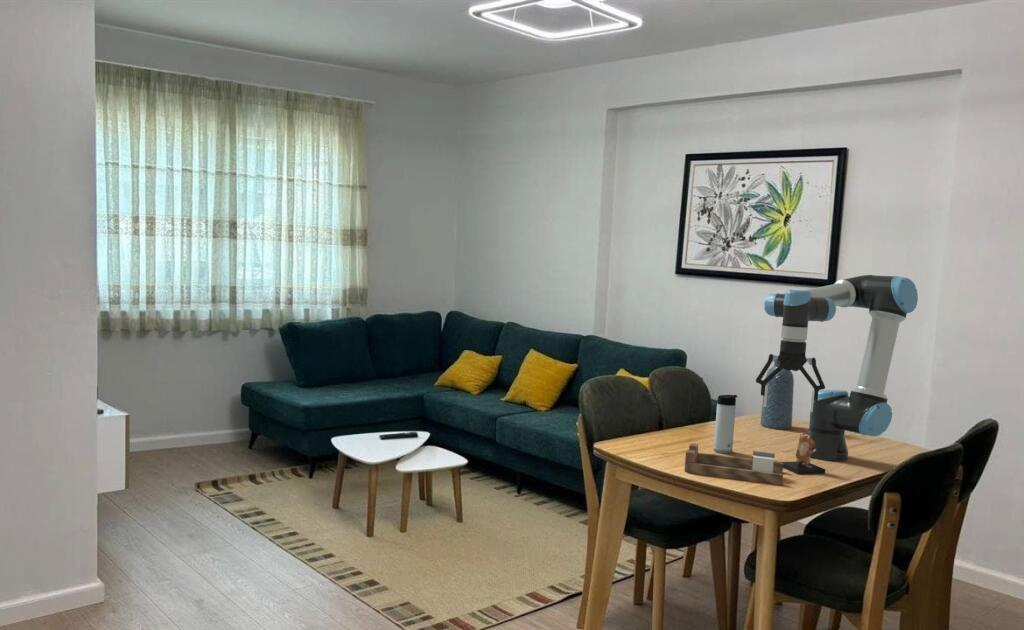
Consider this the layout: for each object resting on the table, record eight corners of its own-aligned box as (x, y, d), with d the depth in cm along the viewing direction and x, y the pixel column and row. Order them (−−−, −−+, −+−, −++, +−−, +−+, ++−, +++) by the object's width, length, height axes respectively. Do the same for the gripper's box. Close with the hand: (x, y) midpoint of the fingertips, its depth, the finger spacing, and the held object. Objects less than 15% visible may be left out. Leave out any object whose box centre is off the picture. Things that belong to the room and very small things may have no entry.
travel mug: (733, 454, 289) (738, 396, 287) (713, 452, 290) (718, 395, 288) (732, 450, 295) (736, 394, 293) (713, 448, 296) (717, 392, 294)
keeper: (773, 474, 264) (774, 451, 263) (772, 478, 258) (774, 455, 257) (751, 471, 266) (753, 449, 265) (751, 476, 260) (752, 453, 259)
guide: (782, 471, 268) (783, 453, 268) (782, 485, 252) (783, 465, 252) (689, 460, 277) (691, 442, 276) (683, 472, 261) (685, 453, 260)
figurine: (824, 473, 269) (828, 436, 268) (797, 474, 266) (800, 437, 265) (805, 465, 279) (808, 429, 278) (779, 466, 276) (781, 430, 275)
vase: (762, 428, 338) (767, 358, 336) (758, 422, 350) (763, 354, 348) (793, 430, 336) (799, 360, 334) (788, 425, 348) (794, 357, 346)
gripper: (836, 342, 259) (830, 411, 260) (751, 335, 266) (746, 402, 267) (838, 344, 252) (831, 415, 253) (751, 337, 259) (745, 406, 260)
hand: (787, 408), depth 260 cm, fingers open, 13 cm apart
